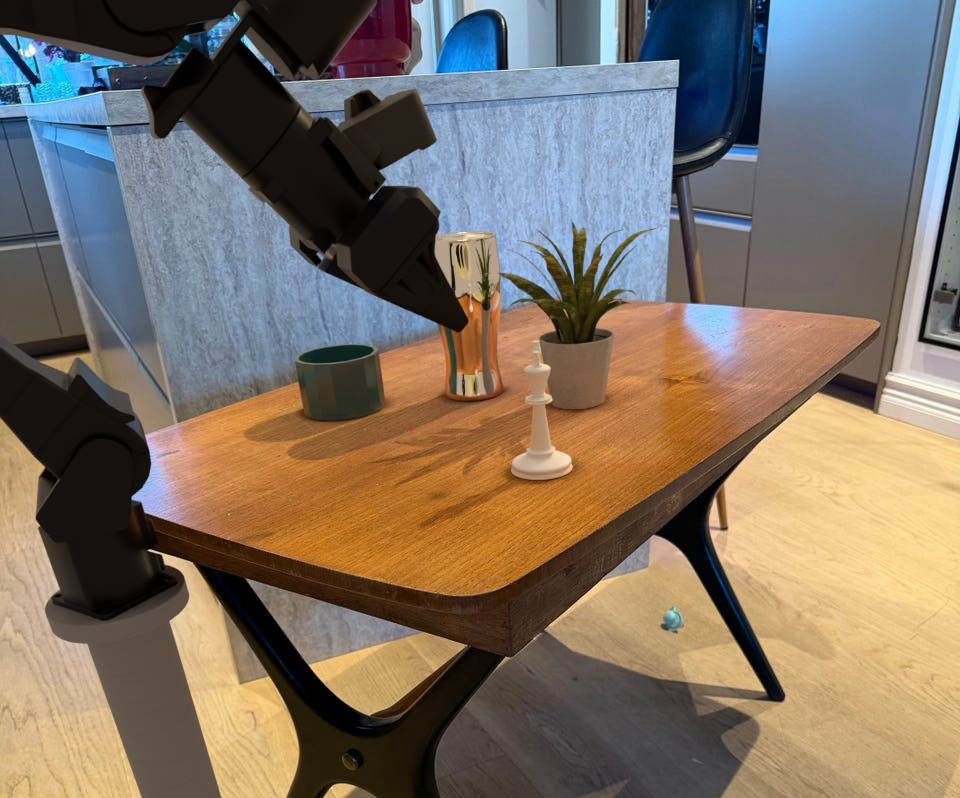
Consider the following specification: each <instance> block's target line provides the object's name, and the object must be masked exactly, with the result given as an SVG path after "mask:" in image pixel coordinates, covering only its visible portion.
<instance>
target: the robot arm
mask: <svg viewBox="0 0 960 798" xmlns="http://www.w3.org/2000/svg"><path fill="white" fill-rule="evenodd" d="M377 3H378V0H0V36H15V37H20V38H24V39H28V40H33V41H36V42H37V41H38V42H41V43H45V44H48V45H52V46H56V47H58V48H61V49H66V50H68V51H69V50H70V51H73V52H75V53H81V54H85V55H90V56H93V57H98V58H101V59H102V58H103V59H106V60H110V61H115V62H119V63H123V64H126V65H127V64H128V65H131V66H146V65H154V64H156V63H158V62H160V61H163V60H164V59H165V58H166V57H168V56H169V55H170V54H171V53H173V51H174V50H175V49H177V48H178V46H179V44H180V43H181V42H182V41H183V40H184V38H185V37H187V36H193V35H197V34H202V33H203V34H204V33H207V32H210V31H211V30H212V29H214V27H216V26H217V25H219V24H220V23H221V22H222V21H224V20H225V19H226V18H227V17H228V16H230V14H231V13H232V11H233V12H234V13H235V15H237V16H238V17H239V19H238V21H237V22H236V23H235V25H234V26H233V27H232V29H230V31H229V33H228V34H227V35H226V36H225V38H224V39H223V41H222V42H221V43H220V44H219V46H217V48H216V49H215V51H214V52H213V53H212V55H211V56H208V54H206V53H204V51H202V50H200V49H199V48H197V47H191V48H190V49H189V51H188V52H187V53H186V54H185V56H184V58H183V59H182V60H181V61H180V63H179V64H178V65H177V67H176V68H175V69H174V71H173V72H172V73H171V75H170V76H169V77H168V79H167V80H166V81H165V83H164V84H163V85H162V86H158V85H151V84H146V85H144V86H143V87H142V88H141V90H140V93H141V96H142V98H143V100H144V102H145V105H146V108H147V112H148V120H149V134H150V136H151V137H152V138H153V139H155V140H163V139H166V138H167V137H168V136H169V135H170V133H171V132H172V131H173V129H174V128H175V127H176V125H177V124H178V123H179V121H180V120H181V121H182V122H183V123H184V124H185V125H186V126H188V128H189V129H191V131H193V133H194V134H195V135H197V137H199V138H200V139H201V140H202V142H204V143H205V144H206V145H207V146H208V147H209V148H210V149H211V150H212V151H213V152H214V153H215V154H216V155H217V156H218V157H219V158H220V159H221V160H222V161H223V162H224V163H226V165H227V166H228V167H229V168H230V169H232V171H234V172H235V173H236V175H238V177H240V179H241V180H242V181H244V183H245V184H247V185H248V187H249V188H247V189H248V191H249V192H250V193H251V194H253V196H254V197H255V198H256V199H257V200H259V202H261V203H265V204H267V205H268V206H269V207H270V208H271V209H272V211H274V212H275V213H276V214H277V215H278V216H280V217H281V219H283V221H285V222H286V224H288V234H289V235H288V236H289V245H290V247H292V248H293V250H294V251H296V252H297V253H298V255H300V256H301V257H302V258H303V259H304V260H305V261H306V262H307V263H308V264H309V265H312V266H314V267H316V268H317V269H318V270H319V271H321V272H324V273H326V274H327V275H330V276H332V277H334V278H336V279H339V280H341V281H343V282H345V283H348V284H349V285H352V286H355V287H357V288H359V289H361V290H363V291H364V292H365V293H367V294H370V295H371V296H374V297H376V298H378V299H380V300H383V301H385V302H388V303H390V304H391V305H395V306H396V307H399V308H401V309H403V310H406V311H409V312H410V313H412V314H414V315H417V316H420V317H422V318H424V319H426V320H429V321H431V322H433V323H435V324H437V325H438V324H440V325H442V326H444V327H446V328H449V329H451V330H453V331H455V332H458V333H459V332H461V331H462V330H463V329H464V328H465V326H466V325H467V324H468V322H469V319H468V317H467V315H466V313H465V312H464V310H463V308H462V306H461V304H460V302H459V301H458V299H457V297H456V295H455V293H454V291H453V290H452V288H451V286H450V284H449V282H448V280H447V278H446V277H445V275H444V273H443V271H442V269H441V267H440V265H439V263H438V261H437V259H436V256H435V241H436V236H437V235H438V233H439V231H440V220H439V218H440V215H441V213H442V212H441V210H440V209H439V208H438V207H437V205H436V204H435V203H434V202H433V201H432V199H430V197H429V196H428V195H427V194H426V193H425V192H424V191H423V189H422V188H420V187H419V186H409V185H383V184H384V183H385V182H386V180H387V178H386V177H385V176H384V175H383V173H381V172H380V171H382V170H384V169H386V168H388V167H389V166H392V165H393V164H395V163H397V162H399V161H400V160H402V159H405V157H407V156H409V155H410V154H412V153H414V152H416V151H417V150H420V151H425V150H426V149H428V148H430V147H431V146H433V145H434V144H435V143H437V142H438V139H437V135H436V133H435V131H434V128H433V126H432V123H431V120H430V118H429V116H428V113H427V111H426V109H425V108H426V107H425V106H424V104H423V101H422V98H421V96H420V94H419V91H418V88H412V89H407V90H400V91H398V92H395V93H394V94H389V95H387V96H385V97H384V99H380V98H379V97H378V96H377V95H376V94H375V93H374V92H373V91H372V90H370V89H369V88H366V89H362V90H359V91H357V92H355V93H354V94H352V95H350V96H349V97H347V98H345V99H344V100H343V112H344V113H343V114H344V120H343V121H341V122H339V123H338V125H336V124H335V123H334V122H333V121H332V120H331V119H330V118H329V117H327V116H323V117H322V116H314V117H313V116H312V115H311V114H310V113H309V112H308V111H307V110H306V109H305V107H304V106H303V105H302V104H301V103H300V102H299V101H298V100H297V99H296V98H295V96H293V94H291V92H290V91H289V90H288V89H287V88H286V87H285V86H284V85H283V84H282V83H281V82H280V80H279V79H278V78H277V77H276V76H275V75H274V74H273V73H272V71H270V70H269V68H267V66H266V65H265V64H264V63H263V62H262V61H261V60H260V58H258V57H257V55H256V54H255V53H254V52H253V51H252V50H251V49H250V48H249V47H248V45H247V44H246V43H245V42H244V41H243V40H242V39H243V38H244V36H245V37H246V38H247V39H248V40H249V41H250V43H251V44H252V45H253V46H254V48H255V49H256V50H257V51H258V52H259V54H260V55H261V56H262V57H263V58H264V60H266V61H267V62H268V63H269V64H270V65H271V66H272V67H273V68H274V69H275V70H276V71H277V72H278V73H279V74H281V75H282V76H284V77H285V78H286V79H288V80H290V81H292V82H294V81H295V79H296V78H297V77H298V76H299V74H300V72H301V73H302V74H303V75H305V76H306V77H308V78H310V79H311V80H314V81H318V80H320V78H321V76H322V75H323V74H324V72H325V71H326V70H327V69H328V67H330V65H331V64H332V62H333V61H334V60H335V58H337V56H338V55H339V53H341V51H342V49H343V48H344V47H345V46H346V44H347V43H348V42H349V41H350V39H351V38H352V37H353V35H354V34H355V33H356V32H357V30H358V29H359V28H360V26H361V25H362V24H363V22H364V21H365V20H366V19H367V17H369V15H370V13H372V11H373V10H374V9H375V7H376V5H377ZM318 253H319V254H320V256H321V257H323V258H322V259H321V258H320V256H319V255H318ZM0 420H1V421H2V422H3V423H4V424H5V426H7V428H8V429H9V430H10V431H11V432H12V433H13V434H14V436H15V437H16V438H17V439H18V440H19V441H20V442H21V444H22V445H23V446H24V448H26V450H28V451H29V453H30V454H31V455H32V456H33V458H35V460H37V461H38V462H39V464H41V465H42V466H43V467H44V468H43V469H42V471H41V472H40V474H39V476H38V480H37V494H36V507H35V508H36V509H35V521H36V523H37V524H38V525H39V526H37V531H38V533H39V535H40V536H39V537H40V539H41V541H42V544H43V546H44V549H45V552H46V555H47V558H48V561H49V563H50V565H51V569H52V572H53V575H54V577H55V580H56V582H57V586H58V588H59V590H60V591H61V592H58V593H56V592H55V593H56V594H55V593H53V594H54V595H53V594H52V595H53V596H52V595H51V596H52V597H51V596H50V598H51V600H52V602H53V604H56V605H58V606H61V607H64V608H67V609H70V610H73V611H75V612H78V613H81V614H84V615H87V616H90V617H93V618H95V619H98V620H101V621H107V620H110V619H113V618H114V617H116V616H118V615H120V614H122V613H124V612H126V611H128V610H129V609H131V608H133V607H135V606H137V605H139V604H141V603H143V602H145V601H146V600H148V599H150V598H152V597H154V596H156V595H158V594H160V593H161V592H163V591H165V590H167V589H169V588H171V587H173V586H175V585H176V584H177V583H178V581H177V578H176V576H173V575H170V574H166V573H163V572H162V571H164V570H165V565H166V563H165V561H164V557H163V554H162V553H157V552H153V551H149V550H152V549H153V548H155V546H156V545H157V544H159V539H158V535H157V531H156V529H155V528H156V527H155V525H154V521H153V519H152V518H150V517H147V516H146V512H145V508H144V505H143V502H142V501H139V500H134V499H133V497H134V496H135V495H136V494H137V493H138V492H139V491H141V490H142V489H143V487H144V486H145V484H146V483H147V481H148V479H149V478H150V474H151V468H152V459H151V452H150V448H149V444H148V441H147V437H146V433H145V430H144V427H143V424H142V422H141V420H140V418H139V416H138V415H137V413H136V412H134V409H133V405H132V401H131V397H130V395H129V393H128V392H125V391H122V390H119V389H116V388H114V387H112V386H111V385H110V384H108V383H106V382H104V381H103V379H101V378H100V376H98V374H97V373H95V372H94V370H92V368H91V367H90V366H89V365H88V364H87V363H85V361H83V359H81V358H80V357H75V358H74V360H73V361H72V363H71V365H70V367H69V369H68V371H67V372H65V371H62V370H59V369H57V368H55V367H53V366H51V365H48V364H46V363H44V362H41V361H39V360H37V359H36V358H33V357H32V356H30V355H28V354H27V353H26V352H24V351H23V350H22V349H21V348H19V347H18V346H17V345H15V344H14V343H13V342H11V341H9V340H8V339H7V338H5V336H4V335H2V334H0Z"/></svg>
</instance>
